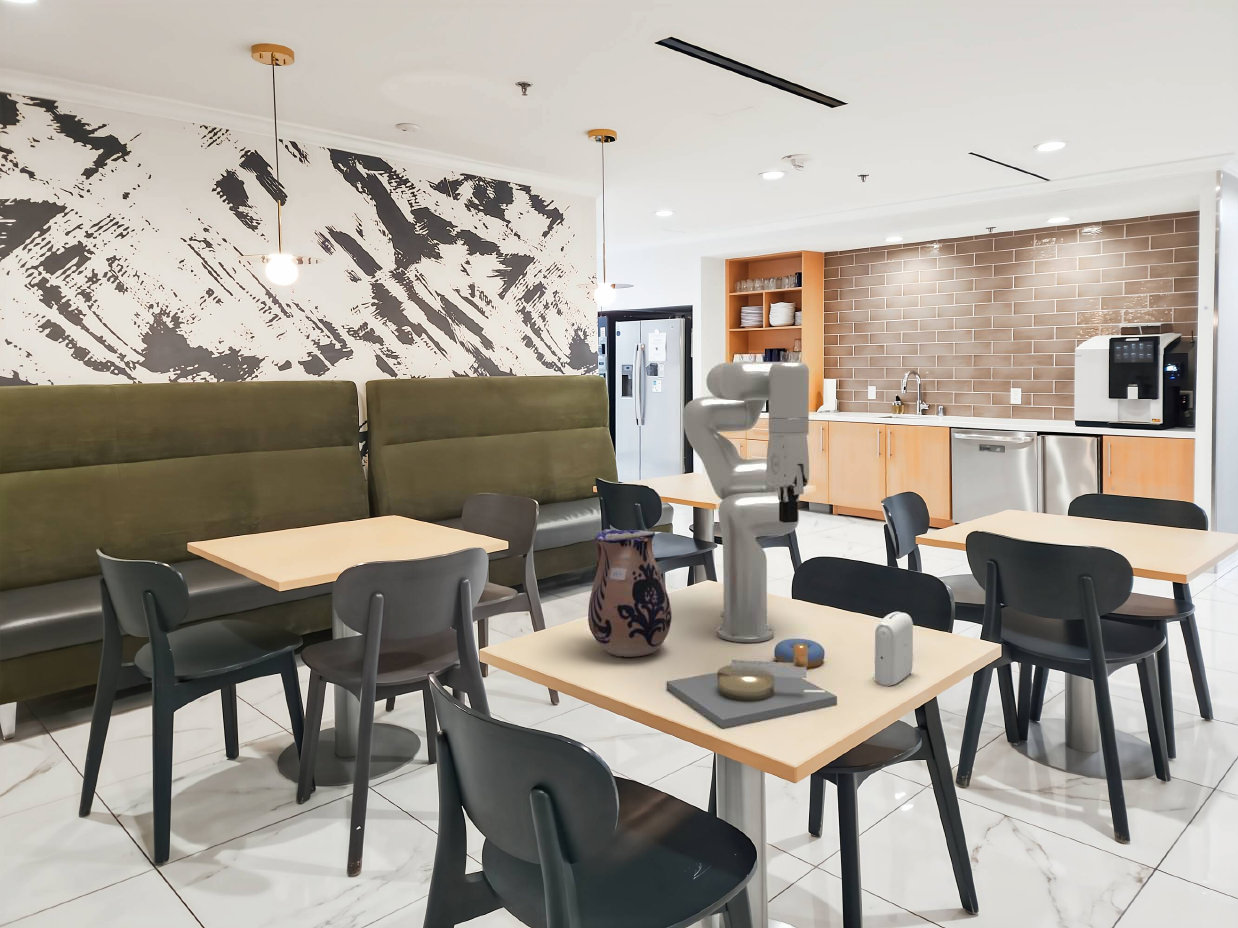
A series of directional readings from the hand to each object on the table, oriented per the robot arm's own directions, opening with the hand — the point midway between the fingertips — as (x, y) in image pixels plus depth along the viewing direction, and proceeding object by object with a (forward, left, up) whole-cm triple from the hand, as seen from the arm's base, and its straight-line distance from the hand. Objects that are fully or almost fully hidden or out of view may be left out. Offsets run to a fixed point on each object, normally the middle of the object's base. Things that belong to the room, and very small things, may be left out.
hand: (788, 521), depth 166 cm
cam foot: (+13, -14, -27) cm, 33 cm away
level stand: (+10, -16, -29) cm, 34 cm away
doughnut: (-2, +4, -30) cm, 30 cm away
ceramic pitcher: (-25, -24, -29) cm, 45 cm away
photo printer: (+14, +14, -29) cm, 35 cm away
